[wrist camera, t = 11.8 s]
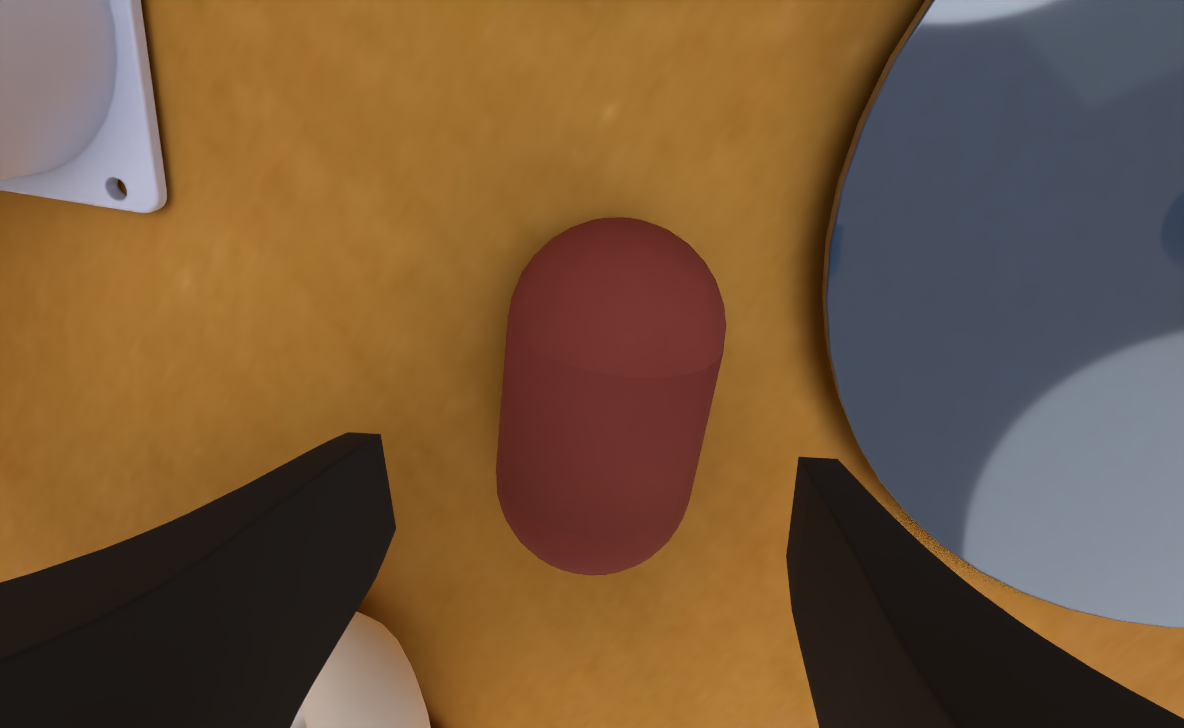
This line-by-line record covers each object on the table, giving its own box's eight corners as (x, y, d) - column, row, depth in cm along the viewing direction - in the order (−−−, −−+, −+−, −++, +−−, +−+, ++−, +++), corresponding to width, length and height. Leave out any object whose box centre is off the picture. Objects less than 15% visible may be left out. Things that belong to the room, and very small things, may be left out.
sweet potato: (514, 481, 19) (466, 598, 15) (541, 183, 15) (488, 231, 11) (675, 510, 19) (670, 638, 15) (740, 213, 15) (757, 274, 11)
